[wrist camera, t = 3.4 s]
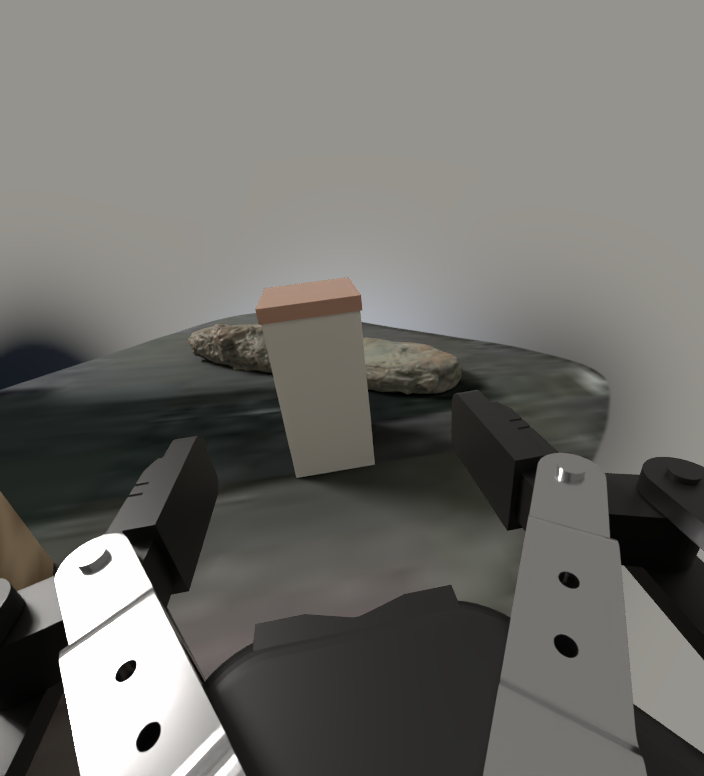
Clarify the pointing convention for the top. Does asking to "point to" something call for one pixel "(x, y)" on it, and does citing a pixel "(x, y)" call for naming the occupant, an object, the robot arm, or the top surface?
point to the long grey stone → (382, 357)
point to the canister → (319, 373)
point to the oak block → (20, 551)
